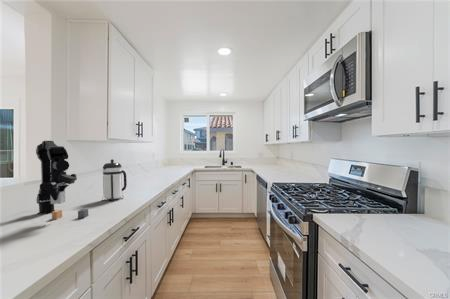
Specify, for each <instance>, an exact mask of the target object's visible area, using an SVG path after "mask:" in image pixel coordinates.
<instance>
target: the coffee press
mask: <svg viewBox="0 0 450 299" xmlns="http://www.w3.org/2000/svg"><path fill="white" fill-rule="evenodd" d="M122 167H123V166H122V164H121V163H120V162H115V160H114V159H110V162H108V163H105V164H103V166H102V181H103V182H102V185H103V186H102V187H103V188H102V189H103V197H102V199H101V201H105V200H111V201H112V202H114V200H115V199H120V198H121V199H122V197H124V195H123V192H124V191H125V190H126V188H127V185H128V184H127V183H128V182H127V173H126V171H125V170H122ZM122 174H123V175H122ZM122 176H123V177H122ZM122 178H123V179H122ZM122 182H123V183H122Z"/></svg>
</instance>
